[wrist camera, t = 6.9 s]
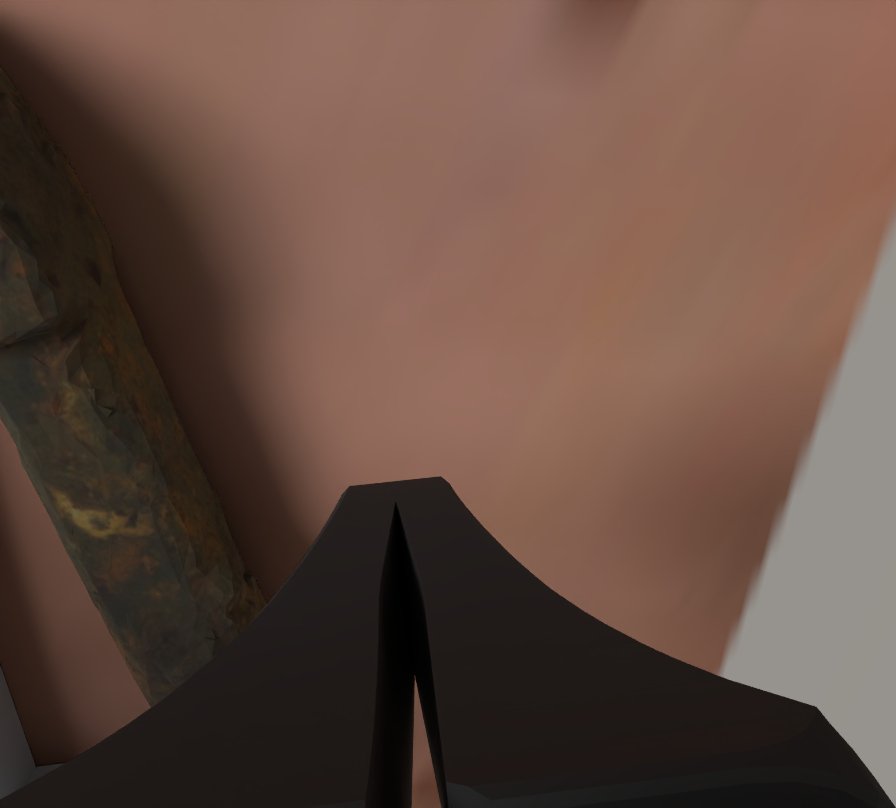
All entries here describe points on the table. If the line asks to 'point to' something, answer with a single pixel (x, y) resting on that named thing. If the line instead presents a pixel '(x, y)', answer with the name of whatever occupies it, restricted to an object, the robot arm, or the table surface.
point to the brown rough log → (105, 426)
